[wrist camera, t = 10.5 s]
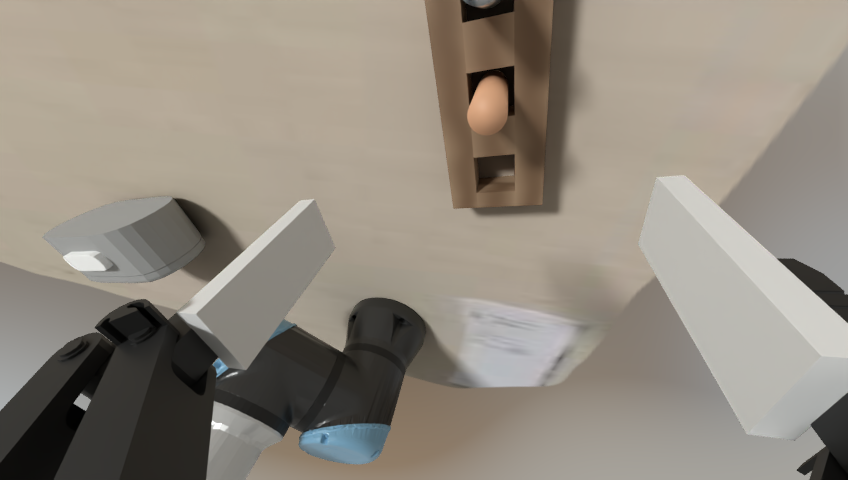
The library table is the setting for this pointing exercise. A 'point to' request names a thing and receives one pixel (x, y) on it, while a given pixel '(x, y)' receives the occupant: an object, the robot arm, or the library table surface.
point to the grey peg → (483, 3)
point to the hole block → (527, 119)
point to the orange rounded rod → (489, 104)
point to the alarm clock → (128, 240)
